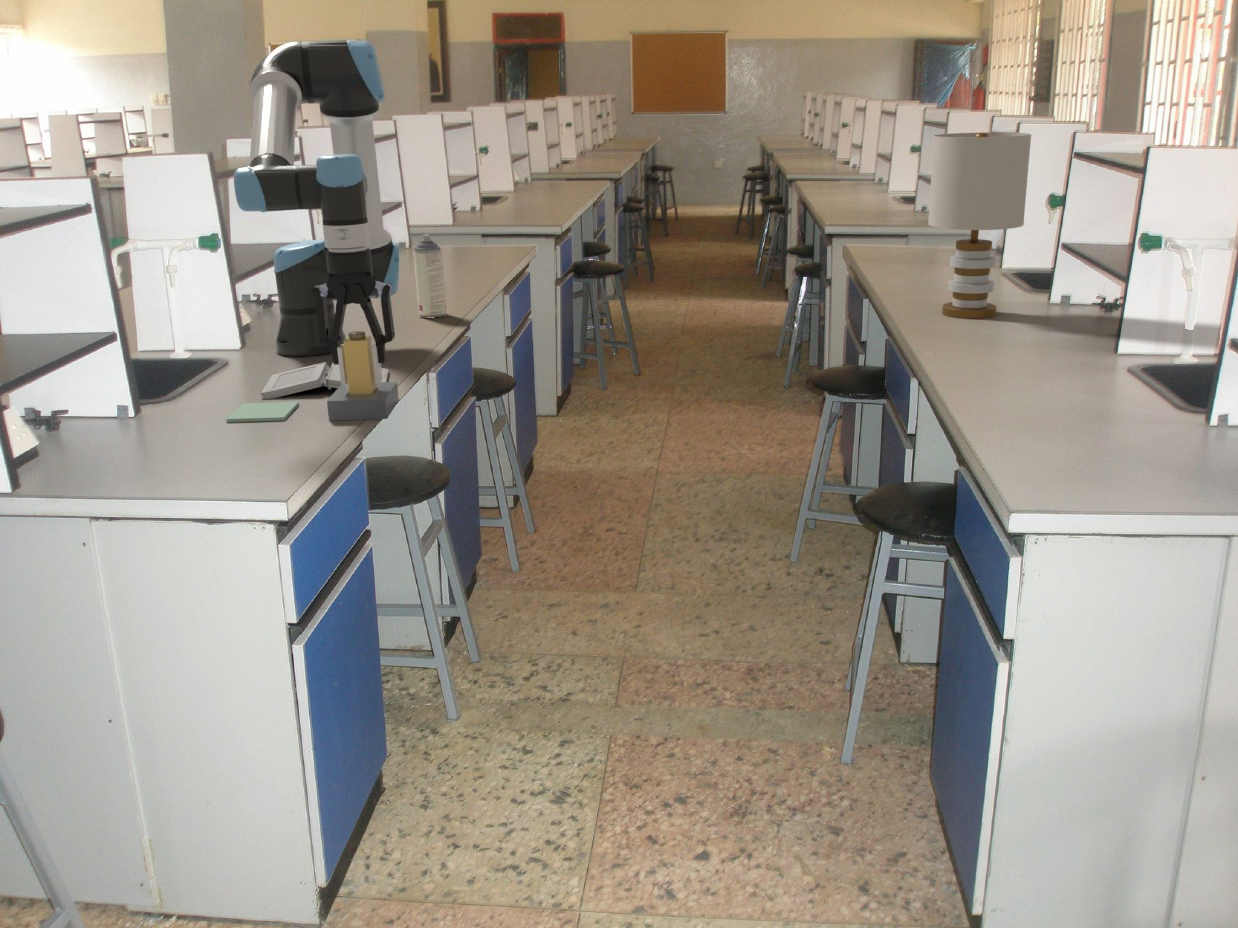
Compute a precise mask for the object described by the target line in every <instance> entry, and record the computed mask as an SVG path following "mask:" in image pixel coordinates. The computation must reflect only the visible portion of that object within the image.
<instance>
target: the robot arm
mask: <svg viewBox="0 0 1238 928" xmlns="http://www.w3.org/2000/svg"><path fill="white" fill-rule="evenodd" d="M385 95H386V93H385V88H384V83H383V78H382V73H381V68H380V64H379V60H378V56H377V52H376V50H375V47H374V45H373V44H372V43H371V42H369V41H367V40H356V39H354V40H352V39H351V38H350V39H348V38H347V39H333V40H331V39H330V40H311V41H306V40H305V41H302V40H301V41H300V40H299V41H298V40H297V41H296V40H295V41H291V42H287V43H284V44H281V45H280V46H278V47H276V48H275V49H273V50H271V51H270V52H269V53H268V54H267V55H265V56H264V58H262V59H261V60H260V62H259V63H258V65H257V66H256V67H255V69H254V71H253V74H252V76H251V77H250V84H249V96H250V99H251V102H252V104H253V115H252V128H251V139H250V140H251V141H250V151H249V162H248V163H249V165H247V166H245V167H239V168H237V169H236V170H235V171H234V173H233V186H234V194H235V199H236V203H237V206H238V208H239V209H241V210H242V211H244V212H261V213H266V212H279V211H281V212H282V211H295V210H296V211H297V210H320V211H321V217H322V231H323V239H321V238H320V239H313V240H312V239H311V240H306V241H305V240H304V241H299V242H295V243H291V244H290V243H289V244H287V245H284V246H281V247H279V248H277V249H276V250H275V252H274V253H273V264H274V265H273V266H274V267H273V268H274V269H273V273H274V275H275V281H276V290H277V296H278V297H277V298H278V306H279V313H280V314H279V315H280V318H279V323H278V327H277V332H276V333H277V334H276V337H275V348H276V349H275V350H276V353H277V354H279V355H284V356H292V357H294V356H295V357H307V356H318V355H325V354H331V358H332V363H334V365H339V369H340V378H341V384H346V383H347V382H348V378H347V369H346V360H345V350H344V340H345V339H346V338H347V337H346V334H345V331H344V329H343V327H344V320H345V315H346V310H347V306H348V305H350V304H356V305H360V308H361V310H362V311H363V314H364V317H365V319H366V321H367V324H368V327H369V330H370V331H371V334H372V335H371V336H372V338H373V340H374V342H375V343H374V344H372V354H373V364H374V374H375V383H380V382H381V381H382V369H381V368H382V364H384V363H386V361H387V352H386V344H387V343H390V342H392V341H393V340H394V339H395V338H396V337H395V336H396V332H395V324H394V317H393V316H394V315H393V309H392V308H393V307H392V300H391V297H393V296H394V295H395V294H397V292H398V288H399V277H400V276H399V274H400V273H399V272H400V244H399V243H398V242H396V241H395V242H394V241H393V239H392V235H391V233H390V232H388V231H387V230H386V229H385V228H384V221H383V220H384V219H383V209H382V201H381V190H380V180H379V172H378V171H379V170H378V161H377V151H376V143H375V141H376V140H375V133H374V131H375V130H374V124H373V123H374V122H373V119H374V117H375V116H376V115H377V114H378V113H379V111H380V106H379V104H380V103H382V102H384V101H385V100H386V96H385ZM302 104H304V105H305V104H311V105H313V104H314V105H315V104H319V111H320V114H321V115H322V116H323V117H324V118H326V119H327V121H329V122H328V123H329V130H330V137H331V145H332V154H326V155H320V156H319V157H317V159H316V164H303V165H302V164H301V165H300V164H299V165H297V164H296V165H295V148H296V147H295V146H296V142H295V141H296V140H295V139H296V118H297V117H296V116H297V115H296V114H297V111H298V109H299V108H300V105H302ZM372 299H380V306H381V313H382V321H383V329H384V330H382V328H381V327H382V326H381V325H380V323H379V320H378V317H377V315H376V314H377V313H376V312H375V310H374V307H373V303H372ZM335 301H336V304H335ZM383 331H384V332H383Z"/></svg>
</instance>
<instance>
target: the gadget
mask: <svg viewBox="0 0 1238 928" xmlns="http://www.w3.org/2000/svg"><path fill="white" fill-rule="evenodd" d="M381 369H382V381H381V382H388V381H387V379H388V374H389V368H384V367H383V368H382V367H381ZM347 383H348V382H347ZM340 385H341V378H340V369H339V365H334V363H333V362H332V364H331V366H330V365H328V362H327V361H324V362H320V363H316V364H311V365H308V366H304V367H299V368H295V369H291V370H287V371H283V372H279V373H275V374H272V375H271V376H270V377H269V380H268V381H267V383H266V385H265V386H264V388H263V390H262V391H261V392H260V395H261V398H260V399H261V400H268V399H269V400H272V399H276V398H280V397H283V396H285V397H286V396H289V395H292V394H293V395H294V394H296V393H297V394H298V393H300V392H304V391H308V390H309V391H310V390H313V389H317V388H322V387H326V388H331V389H332V388H335V389H338V388H339V387H340Z"/></svg>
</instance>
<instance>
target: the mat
mask: <svg viewBox="0 0 1238 928" xmlns="http://www.w3.org/2000/svg"><path fill="white" fill-rule="evenodd" d="M299 405H300V404H299V401H288V402H287V401H285V402H284V401H281V402H280V401H279V402H252V403H251V402H250V403H247V402H246V403H242V404H241V405H240V406H238V408H237V409H236V410H234V411H233V412H232V413H231V414H230V415H229V416H228V417H227V418H226V419H225V420H226V423H247V422H248V423H249V422H250V423H252V422H278V421H279V422H281V421H282V422H283V421H286V420H287V418H288V417H289V416H290V415H291V414H292V413H293V412H294V411H295V410H296V409H297V408H298V406H299Z"/></svg>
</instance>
